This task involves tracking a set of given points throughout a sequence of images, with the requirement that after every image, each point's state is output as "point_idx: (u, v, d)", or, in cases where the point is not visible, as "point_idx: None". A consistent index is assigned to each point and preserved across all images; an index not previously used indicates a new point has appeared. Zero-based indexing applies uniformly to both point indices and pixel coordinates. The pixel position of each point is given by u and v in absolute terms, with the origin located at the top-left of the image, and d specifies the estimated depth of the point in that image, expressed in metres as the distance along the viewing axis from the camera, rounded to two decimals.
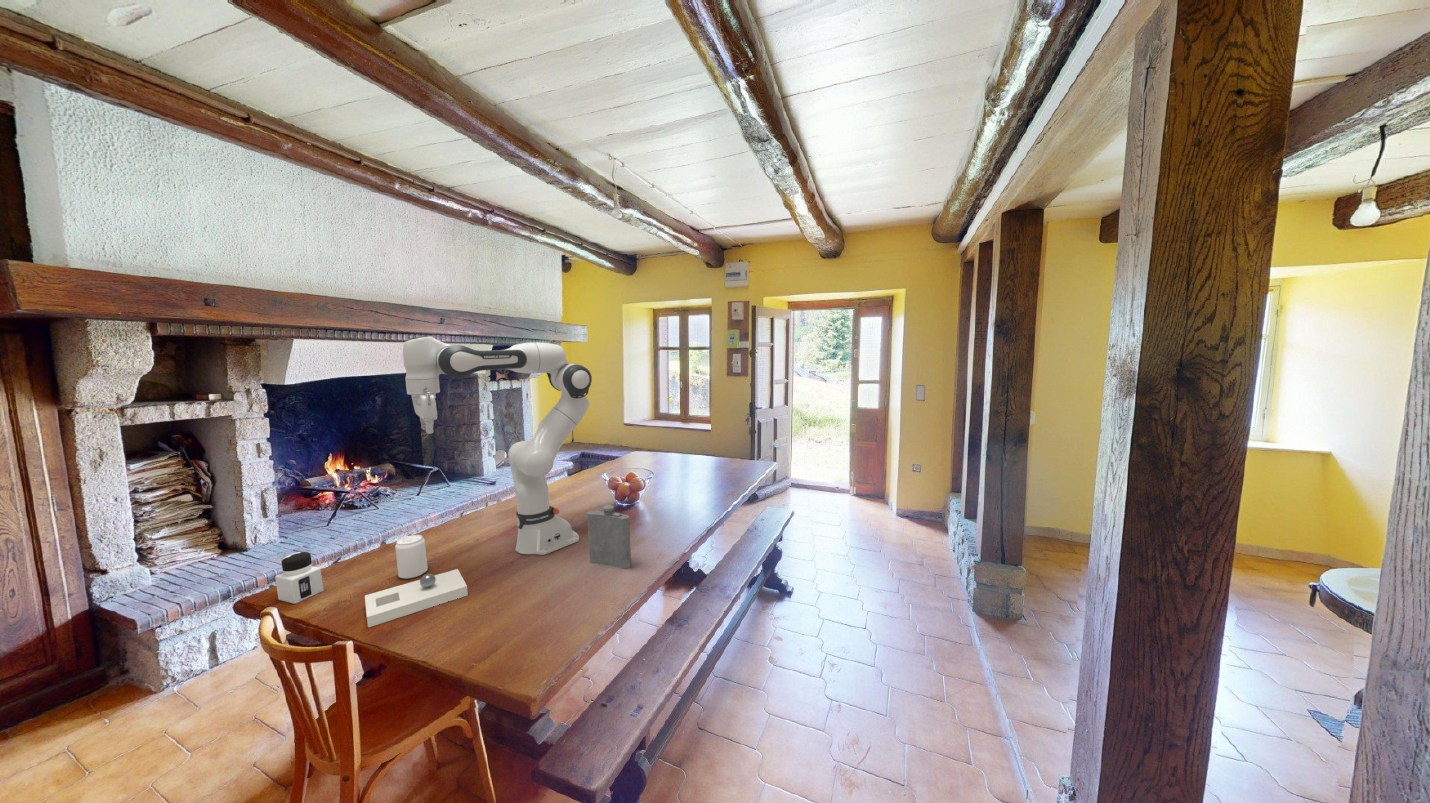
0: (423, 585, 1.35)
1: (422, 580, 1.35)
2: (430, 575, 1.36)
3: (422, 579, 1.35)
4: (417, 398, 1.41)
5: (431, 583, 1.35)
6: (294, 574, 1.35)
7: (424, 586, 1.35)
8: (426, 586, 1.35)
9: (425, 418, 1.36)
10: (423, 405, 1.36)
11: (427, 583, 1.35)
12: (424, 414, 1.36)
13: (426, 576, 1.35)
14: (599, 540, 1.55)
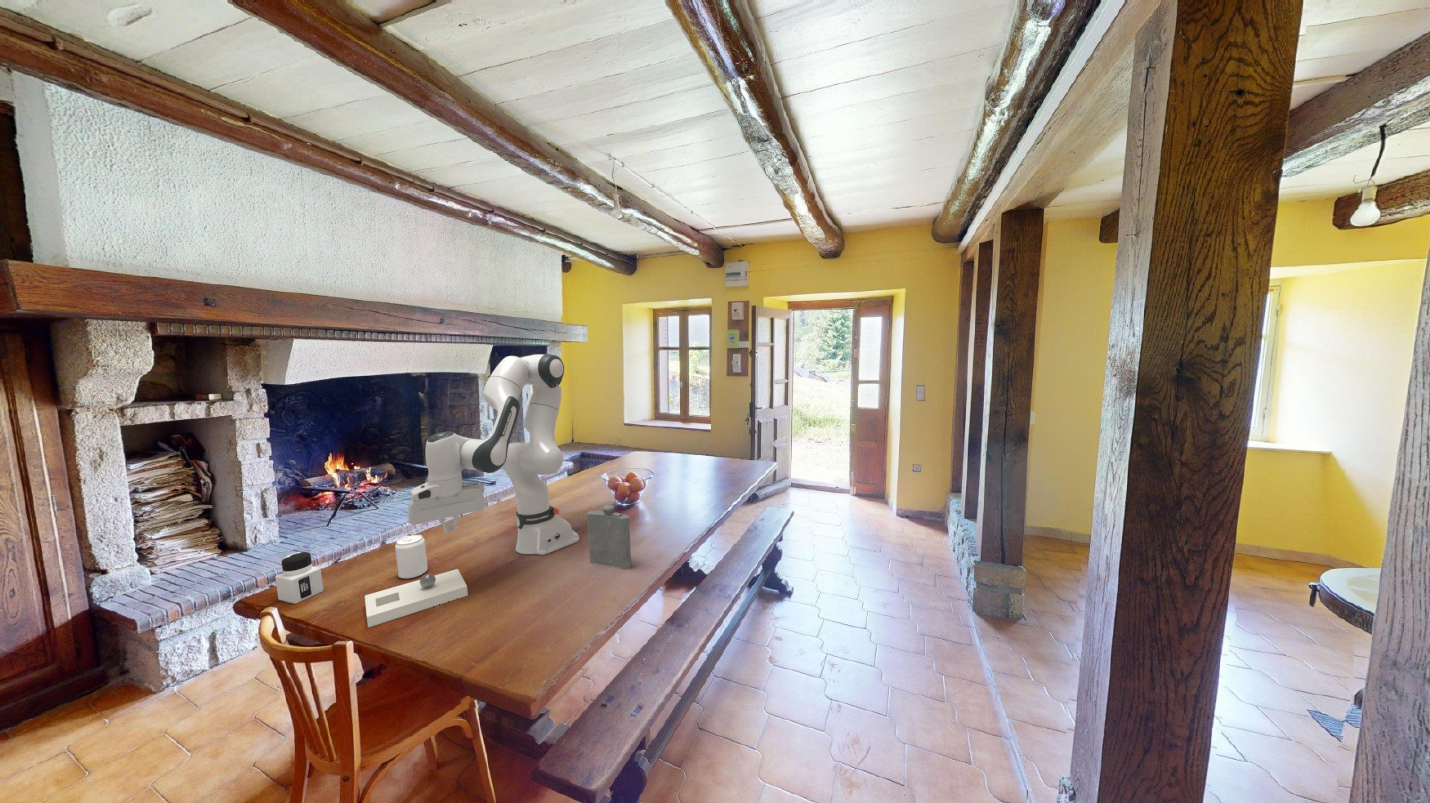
0: (423, 585, 1.35)
1: (422, 580, 1.35)
2: (430, 575, 1.36)
3: (422, 579, 1.35)
4: (456, 495, 1.38)
5: (431, 583, 1.35)
6: (294, 574, 1.35)
7: (424, 586, 1.35)
8: (426, 586, 1.35)
9: (484, 507, 1.43)
10: (483, 495, 1.43)
11: (427, 583, 1.35)
12: (484, 503, 1.43)
13: (426, 576, 1.35)
14: (599, 540, 1.55)
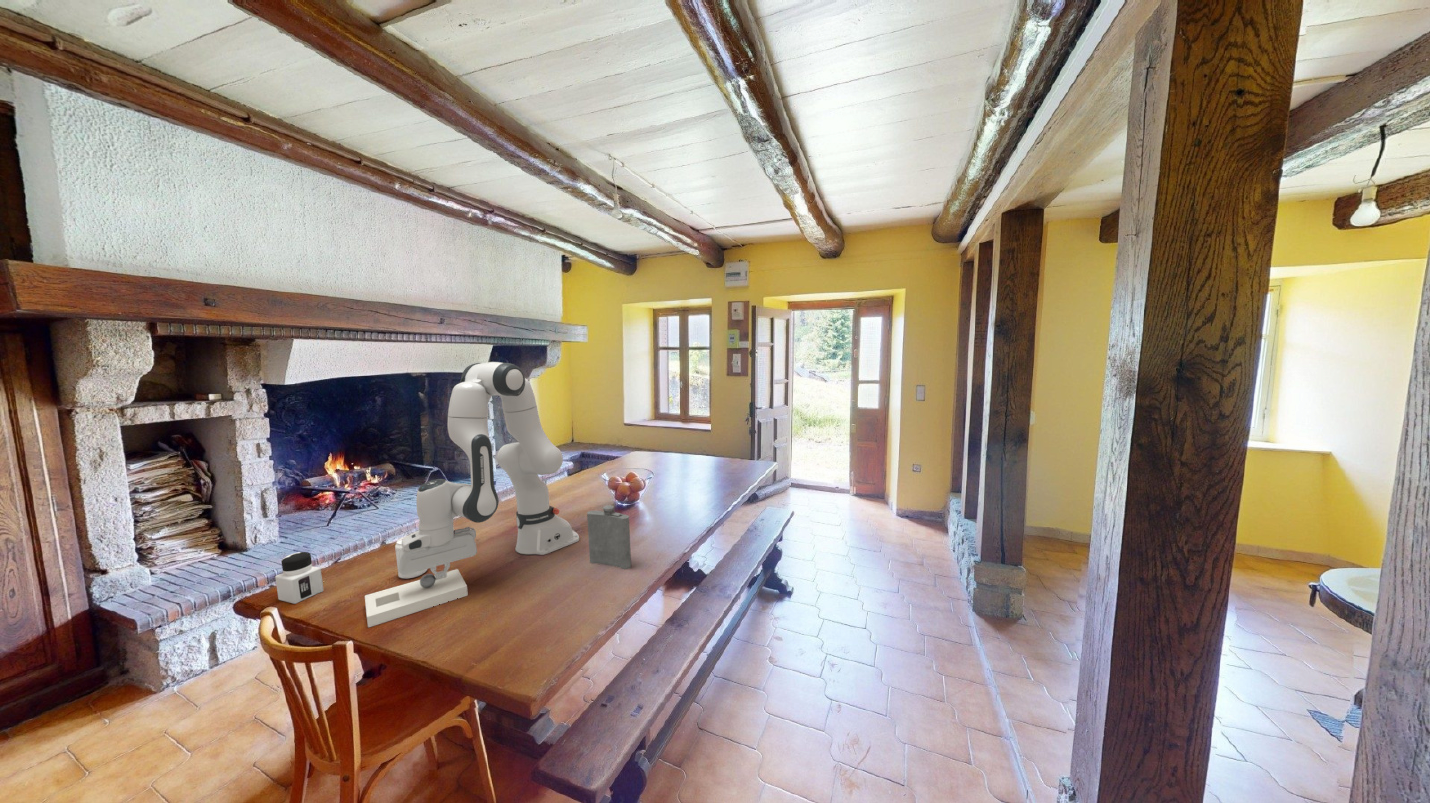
0: (423, 585, 1.35)
1: (422, 580, 1.35)
2: (430, 575, 1.36)
3: (422, 579, 1.35)
4: (448, 543, 1.37)
5: (431, 583, 1.35)
6: (294, 574, 1.35)
7: (424, 586, 1.35)
8: (426, 586, 1.35)
9: (476, 552, 1.43)
10: (474, 541, 1.42)
11: (427, 583, 1.35)
12: (476, 549, 1.43)
13: (426, 576, 1.35)
14: (599, 540, 1.55)
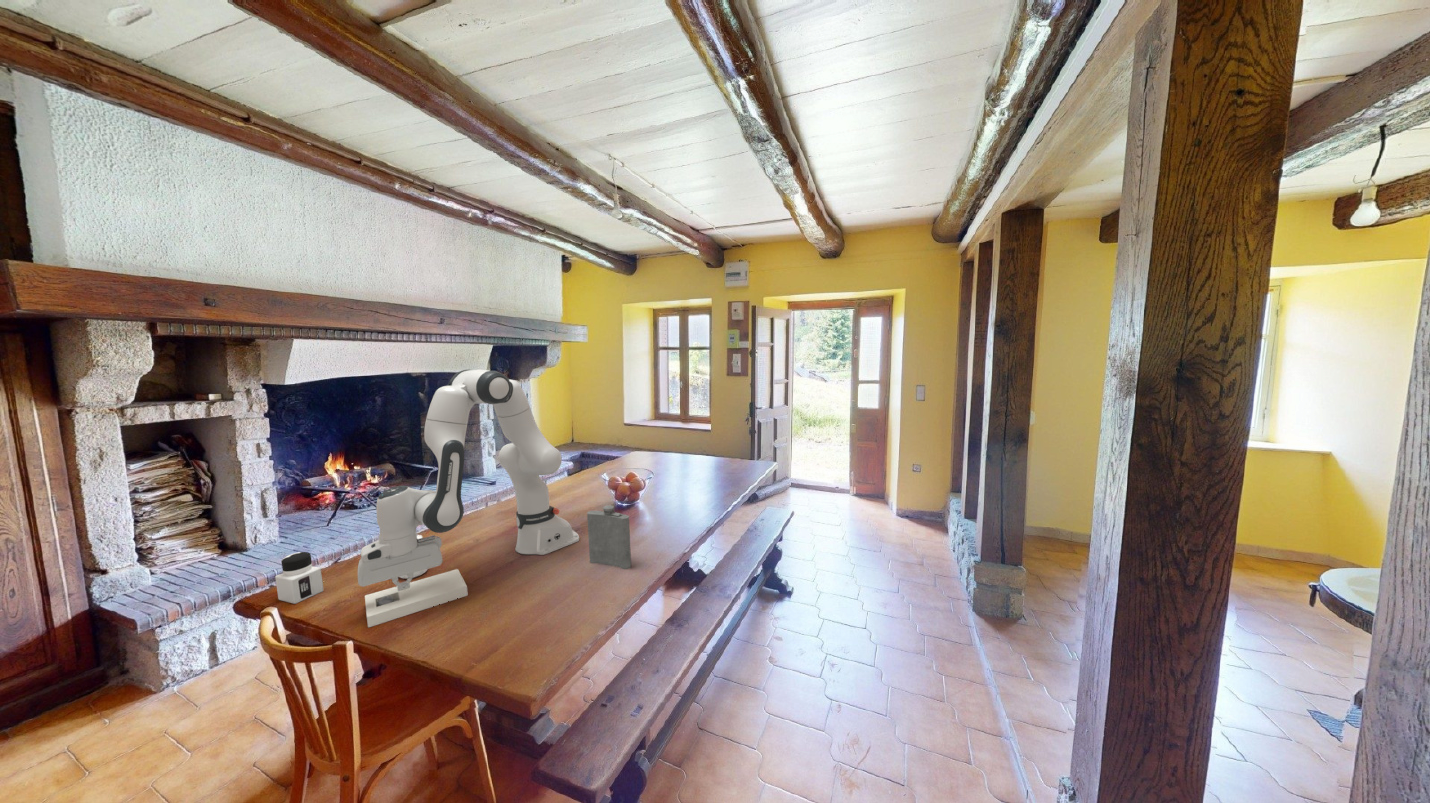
0: None
1: (381, 601, 1.29)
2: (391, 598, 1.30)
3: (382, 599, 1.29)
4: (410, 553, 1.31)
5: None
6: (294, 574, 1.35)
7: None
8: None
9: (441, 562, 1.37)
10: (439, 550, 1.36)
11: None
12: (441, 558, 1.37)
13: (387, 597, 1.30)
14: (599, 540, 1.55)
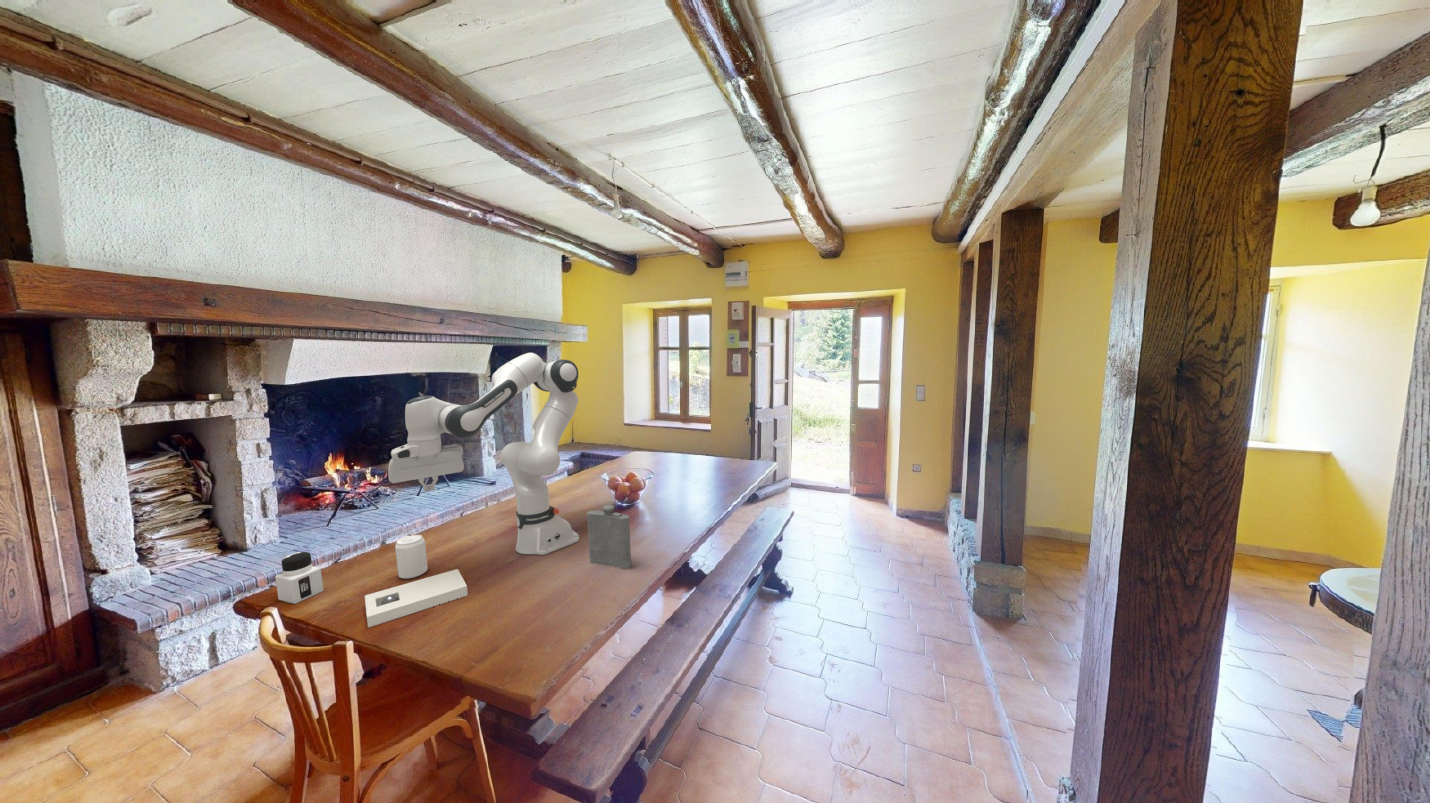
0: (384, 603, 1.29)
1: (388, 598, 1.30)
2: (397, 599, 1.31)
3: (389, 597, 1.30)
4: (435, 457, 1.44)
5: None
6: (294, 574, 1.35)
7: (384, 604, 1.29)
8: None
9: None
10: (461, 457, 1.49)
11: None
12: (463, 465, 1.49)
13: (394, 596, 1.31)
14: (599, 540, 1.55)
